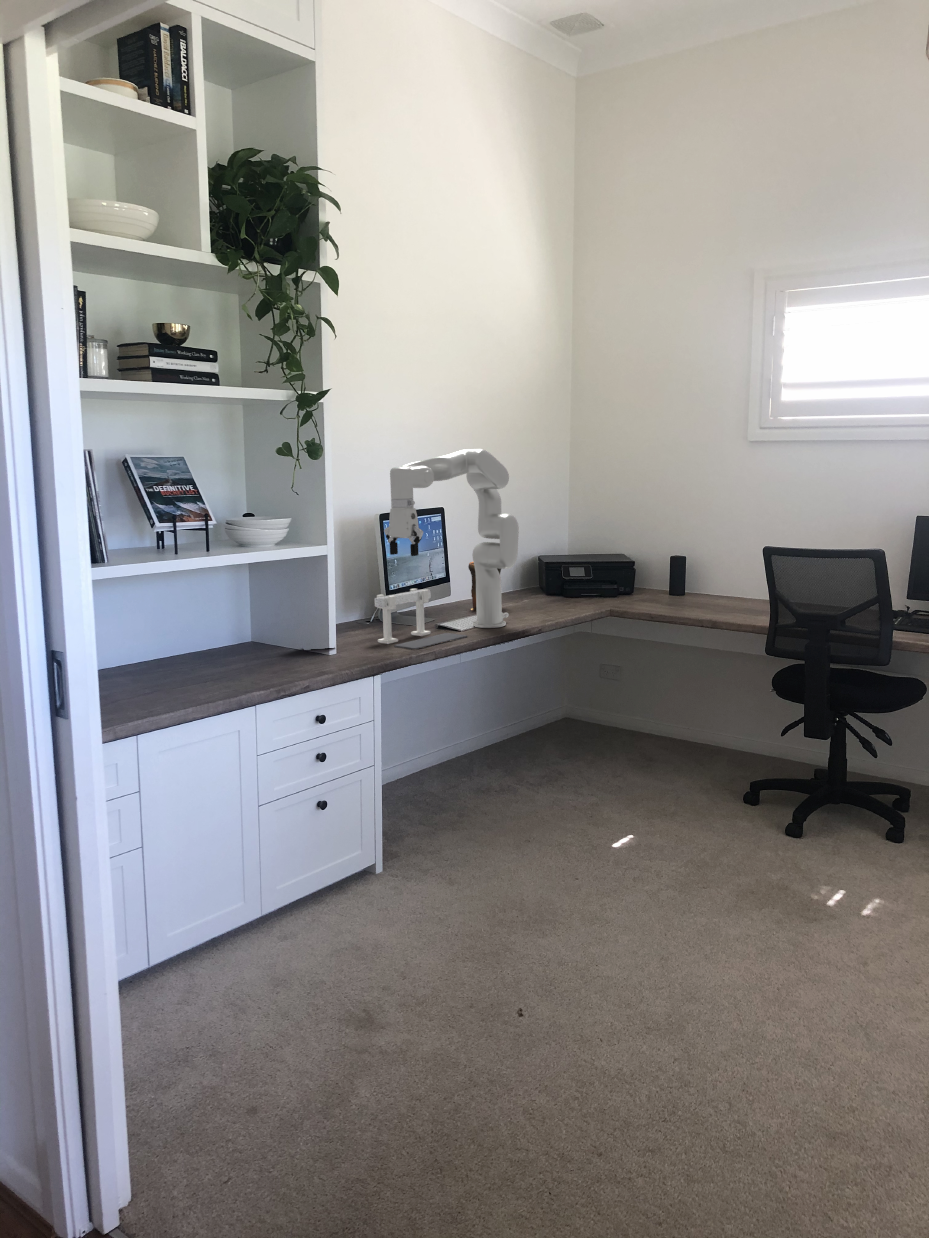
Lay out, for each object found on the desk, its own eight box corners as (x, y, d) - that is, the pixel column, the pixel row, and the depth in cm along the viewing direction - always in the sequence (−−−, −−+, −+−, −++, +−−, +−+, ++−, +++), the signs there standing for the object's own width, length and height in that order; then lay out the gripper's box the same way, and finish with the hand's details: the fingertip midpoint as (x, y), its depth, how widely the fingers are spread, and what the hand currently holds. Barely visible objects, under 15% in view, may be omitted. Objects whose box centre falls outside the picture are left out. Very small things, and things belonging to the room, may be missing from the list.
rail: (423, 597, 349) (423, 589, 348) (430, 598, 347) (430, 589, 346) (374, 606, 330) (374, 598, 330) (381, 607, 328) (381, 598, 328)
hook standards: (418, 632, 351) (417, 588, 348) (432, 634, 347) (431, 589, 344) (375, 642, 335) (373, 595, 332) (389, 644, 330) (388, 597, 327)
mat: (446, 634, 346) (446, 632, 346) (467, 637, 339) (467, 635, 339) (394, 646, 325) (394, 645, 325) (415, 650, 319) (415, 648, 319)
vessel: (507, 606, 404) (505, 560, 401) (500, 613, 391) (498, 564, 387) (474, 606, 408) (472, 560, 404) (466, 612, 394) (464, 564, 391)
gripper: (428, 504, 317) (430, 555, 320) (391, 503, 328) (393, 552, 331) (413, 505, 311) (415, 557, 314) (376, 504, 322) (378, 554, 325)
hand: (404, 555), depth 322 cm, fingers open, 9 cm apart
